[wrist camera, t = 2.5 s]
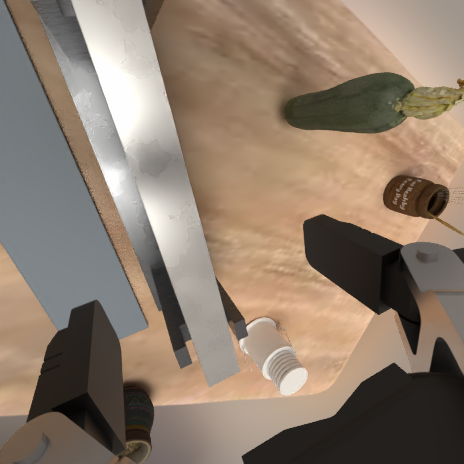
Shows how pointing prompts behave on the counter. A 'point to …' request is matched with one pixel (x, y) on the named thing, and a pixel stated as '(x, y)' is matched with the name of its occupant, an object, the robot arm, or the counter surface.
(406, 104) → the vegetable
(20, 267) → the blue-gray flat board
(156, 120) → the steel rail
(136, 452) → the mate gourd
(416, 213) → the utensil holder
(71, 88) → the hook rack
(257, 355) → the downlight
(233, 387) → the counter surface
